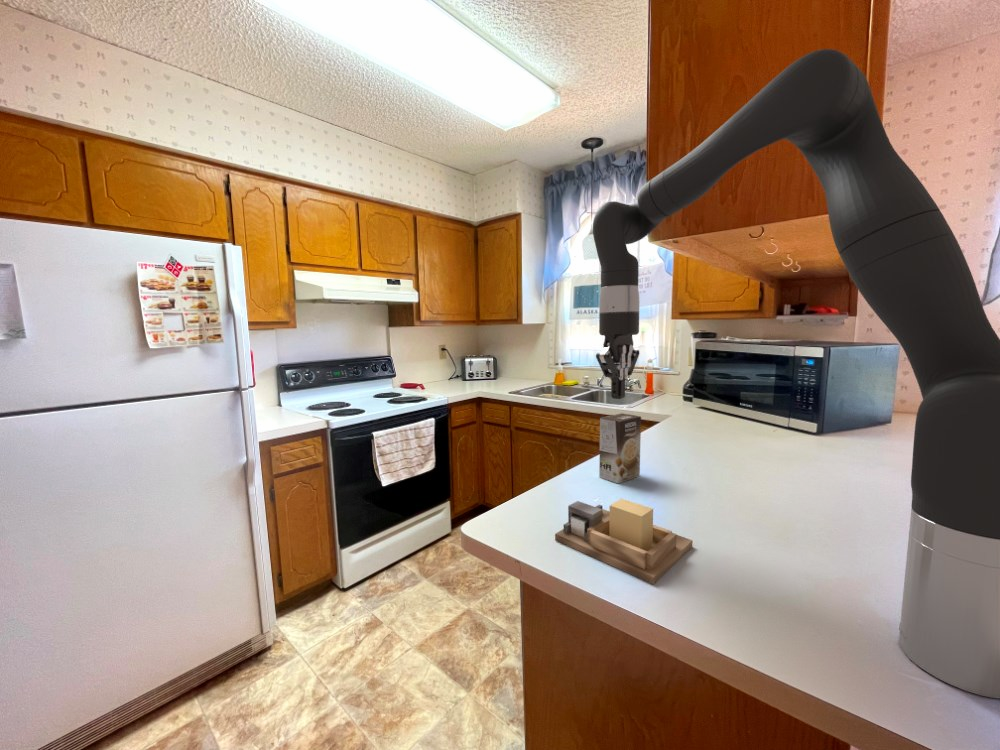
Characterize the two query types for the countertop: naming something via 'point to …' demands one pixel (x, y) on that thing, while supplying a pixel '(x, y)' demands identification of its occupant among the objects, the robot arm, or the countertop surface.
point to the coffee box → (620, 447)
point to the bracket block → (631, 524)
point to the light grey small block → (579, 525)
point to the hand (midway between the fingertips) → (618, 398)
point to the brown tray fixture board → (623, 545)
